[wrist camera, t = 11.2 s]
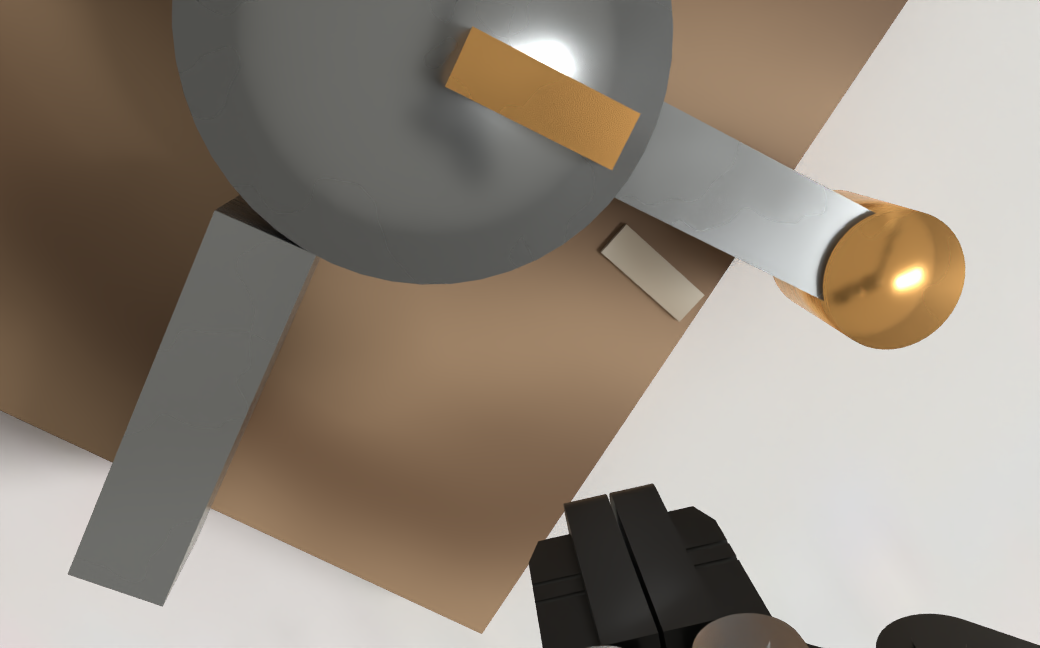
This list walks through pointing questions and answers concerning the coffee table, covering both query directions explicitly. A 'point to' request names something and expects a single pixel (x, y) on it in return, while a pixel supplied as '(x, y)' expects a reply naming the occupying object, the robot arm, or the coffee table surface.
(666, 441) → the coffee table surface
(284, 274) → the spoked handwheel
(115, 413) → the stand board
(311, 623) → the coffee table surface
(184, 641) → the coffee table surface
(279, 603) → the coffee table surface
